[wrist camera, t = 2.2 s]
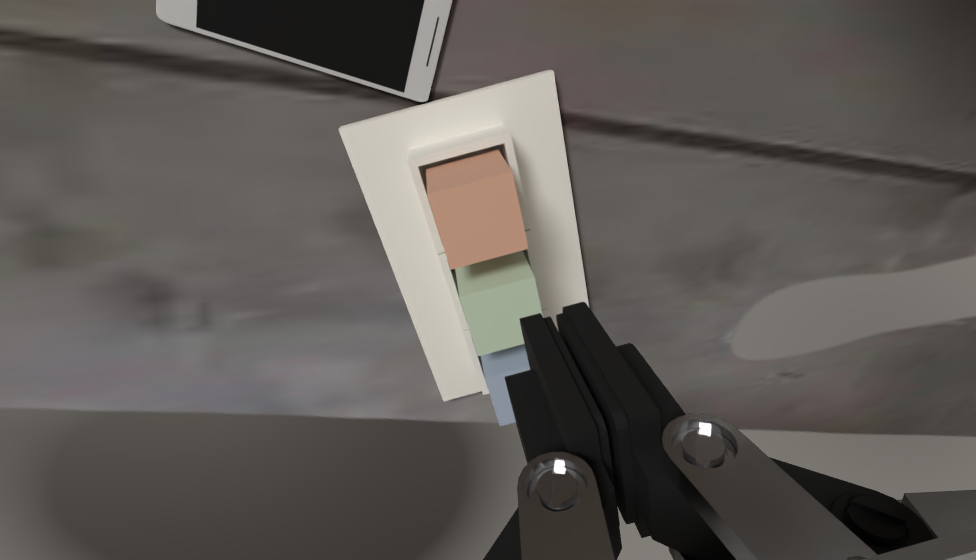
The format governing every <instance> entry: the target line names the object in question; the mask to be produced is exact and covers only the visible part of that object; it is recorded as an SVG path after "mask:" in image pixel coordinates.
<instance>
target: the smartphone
mask: <svg viewBox="0 0 976 560" xmlns="http://www.w3.org/2000/svg"><path fill="white" fill-rule="evenodd" d="M451 4H452V0H156V14H157V16H158V17H159V18H160V19H161V20H163V21H164V22H166V23H169V24H172V25H175V26H178V27H181V28H184V29H188V30H191V31H194V32H197V33H200V34H204V35H207V36H210V37H213V38H216V39H220V40H223V41H226V42H229V43H232V44H236V45H239V46H242V47H245V48H248V49H252V50H255V51H258V52H261V53H264V54H268V55H271V56H274V57H277V58H280V59H284V60H287V61H290V62H293V63H296V64H299V65H303V66H306V67H309V68H312V69H315V70H319V71H322V72H325V73H328V74H331V75H335V76H338V77H341V78H344V79H347V80H351V81H354V82H357V83H360V84H363V85H367V86H370V87H373V88H376V89H379V90H383V91H386V92H389V93H392V94H395V95H399V96H402V97H405V98H408V99H411V100H415V101H419V102H425V101H427V100H428V98H429V94H430V90H431V86H432V82H433V78H434V74H435V70H436V65H437V61H438V57H439V53H440V49H441V45H442V41H443V37H444V33H445V29H446V25H447V21H448V16H449V12H450V8H451Z"/></svg>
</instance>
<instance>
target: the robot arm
mask: <svg viewBox="0 0 976 560" xmlns="http://www.w3.org/2000/svg"><path fill="white" fill-rule="evenodd" d="M562 311H563V313H561V314H557V315H556V320H557V326H558V330H557V328H556V326H555V324H554V322H553V320H552V318H551V317H550V316H549V317H546V318H543V316H542V314H541V313H538V314H535V315H531V316H527V317H523V318H520V325H521V330H522V335H523V339H524V344H525V348H526V353H527V357H528V362H529V367H530V370H528V371H524V372H520V373H517V374H513V375H509V376H506V377H505V382H506V386H507V390H508V394H509V398H510V401H511V405H512V409H513V413H514V417H515V420H516V424H517V428H518V431H519V435H520V439H521V442H522V446H523V449H524V453H525V456H526V460H527V465H526V466H525V467H524V468H523V470H522V472H521V474H520V476H519V479H518V487H517V493H518V508H517V510H516V511H515V513H514V515H513V516H512V517H511V519H510V521H509V522H508V523H507V525H506V526H505V528H504V529H503V531H502V532H501V534H500V535H499V537H498V538H497V540H496V541H495V543H494V544H493V546H492V547H491V549H490V550H489V552H488V553H487V555H486V556H485V558H484V559H483V560H617V558H618V556H619V553H620V551H621V549H622V544H621V537H620V529H619V526H620V525H619V516H618V509H617V506H618V508H619V510H620V512H621V515H622V517H623V519H624V521H625V522H626V524H630V523H635V525H636V527H637V529H638V531H639V533H640V535H641V538H644V537H647V536H651V537H652V539H653V540H655V541H657V542H659V543H662V544H664V545H666V546H668V547H669V552H670V554H671V555H672V557H673V559H674V560H976V490H964V491H963V490H962V491H944V492H924V493H905V494H904V496H903V499H902V500H896V499H894V498H892V497H889V496H887V495H885V494H882V493H880V492H877V491H875V490H872V489H868V488H865V487H862V486H858V485H856V484H852V483H849V482H846V481H843V480H839V479H837V478H833V477H830V476H827V475H824V474H820V473H817V472H814V471H811V470H807V469H805V468H801V467H798V466H795V465H792V464H789V463H786V462H782V461H779V460H776V459H773V458H770V457H768V456H767V455H766V454H765V453H763V452H762V451H761V450H760V449H759V448H758V447H757V446H756V445H755V444H753V443H752V442H751V441H750V440H749V439H748V438H747V437H746V436H745V435H743V434H742V433H741V432H740V431H739V430H738V429H737V428H735V427H734V426H733V425H731V424H730V423H728V422H727V421H725V420H722V419H720V418H717V417H715V416H711V415H705V414H688V415H686V414H685V413H684V411H683V410H682V409H681V407H680V406H679V405H678V403H677V402H676V401H675V399H674V398H673V397H672V395H671V394H670V393H669V391H668V390H667V389H666V387H665V386H664V385H663V383H662V382H661V381H660V379H659V378H658V377H657V375H656V374H655V373H654V371H653V370H652V369H651V367H650V366H649V365H648V363H647V362H646V361H645V359H644V358H643V357H642V355H641V354H640V353H639V351H638V350H637V349H636V347H635V346H634V345H633V344H631V343H628V344H624V345H621V346H617V347H616V346H615V345H614V343H613V342H612V340H611V339H610V337H609V336H608V335H607V333H606V332H605V330H604V329H603V327H602V326H601V324H600V323H599V321H598V320H597V319H596V317H595V316H594V314H593V313H592V311H591V310H590V308H589V307H588V305H587V304H586V303H585V302H580V303H576V304H572V305H569V306H565V307H563V309H562Z"/></svg>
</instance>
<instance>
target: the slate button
mask: <svg viewBox="0 0 976 560" xmlns="http://www.w3.org/2000/svg"><path fill="white" fill-rule="evenodd" d="M481 360H482V365H483V371H484V376H485V380H486V383H487V387H488V390H489V393H490V396H491V399H492V403H493V406H494V409H495V412H496V415H497V418H498V422H499V425H500V426H503V425H506V424H510V423H514V422H516V420H515V417H514V413H513V409H512V405H511V401H510V398H509V394H508V390H507V386H506V382H505V377H506V376H509V375H513V374H517V373H520V372H524V371H528V370H530V367H529V362H528V357H527V353H526V348H525V344H522V345H518V346H515V347H511V348H507V349H504V350H500V351H496V352H492V353H489V354H485V355H481Z"/></svg>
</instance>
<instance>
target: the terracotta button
mask: <svg viewBox="0 0 976 560" xmlns="http://www.w3.org/2000/svg"><path fill="white" fill-rule="evenodd" d="M426 181H427V196H428V199H429V202H430V206H431V209H432V212H433V215H434V218H435V222H436V225H437V228H438V231H439V234H440V237H441V241H442V244H443V247H444V250H445V253H446V256H447V260H448V263H449V266H450V269H451V270H452V269H456V268H459V267H463V266H467V265H470V264H474V263H478V262H481V261H485V260H489V259H492V258H496V257H500V256H504V255H507V254H511V253H515V252H518V251H522V250H526V249H529V248H528V244H527V239H526V234H525V230H524V225H523V220H522V216H521V211H520V206H519V201H518V197H517V192H516V187H515V183H514V178H513V173H512V171H511V169H510V167H509V166H508V164H507V163H506V161H505V160H504V158H503V156H502V155H501V153H500V152H499V150H495V151H491V152H487V153H484V154H480V155H476V156H473V157H469V158H465V159H462V160H458V161H454V162H450V163H447V164H443V165H439V166H436V167H432V168H428V169H426Z"/></svg>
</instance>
